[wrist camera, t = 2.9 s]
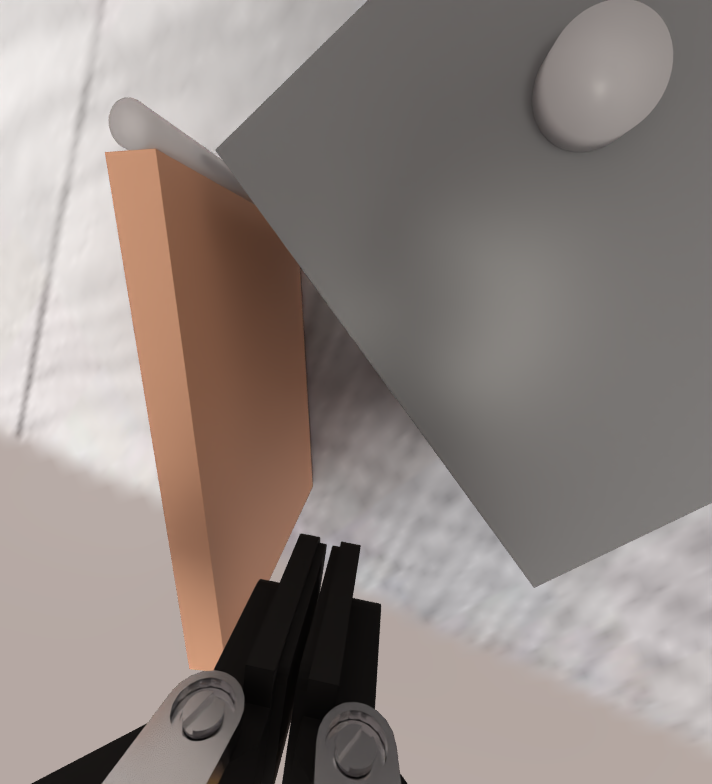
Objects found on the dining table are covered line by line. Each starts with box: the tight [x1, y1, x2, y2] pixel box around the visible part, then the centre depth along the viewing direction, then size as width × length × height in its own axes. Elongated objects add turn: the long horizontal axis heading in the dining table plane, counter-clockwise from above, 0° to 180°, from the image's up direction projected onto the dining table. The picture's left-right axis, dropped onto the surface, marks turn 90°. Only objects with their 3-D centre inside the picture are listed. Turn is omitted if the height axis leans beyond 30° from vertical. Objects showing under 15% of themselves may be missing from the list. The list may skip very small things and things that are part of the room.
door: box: [105, 98, 313, 671], centre depth 16 cm, size 2×15×12 cm, turn 2°
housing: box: [216, 0, 712, 588], centre depth 15 cm, size 11×15×12 cm
